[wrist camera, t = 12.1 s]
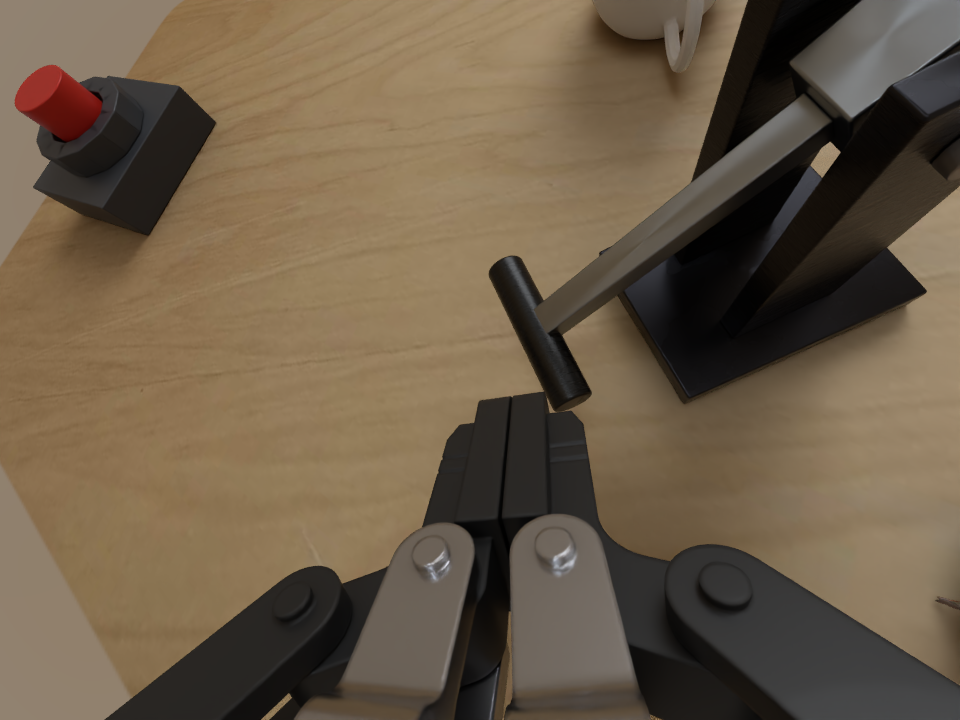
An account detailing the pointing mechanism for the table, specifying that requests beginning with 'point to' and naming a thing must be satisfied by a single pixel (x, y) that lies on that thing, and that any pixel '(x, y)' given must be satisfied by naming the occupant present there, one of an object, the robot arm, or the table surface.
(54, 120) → the button
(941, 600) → the fruit
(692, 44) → the mug
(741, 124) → the bracket
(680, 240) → the lever
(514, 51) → the table surface
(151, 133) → the button block
